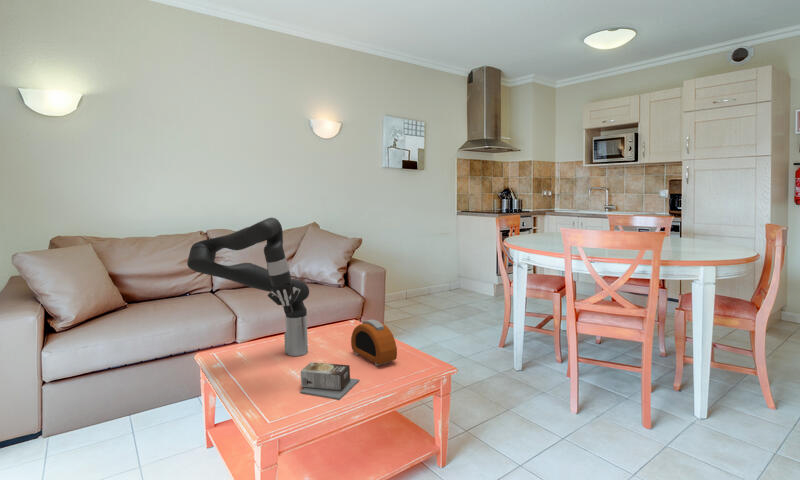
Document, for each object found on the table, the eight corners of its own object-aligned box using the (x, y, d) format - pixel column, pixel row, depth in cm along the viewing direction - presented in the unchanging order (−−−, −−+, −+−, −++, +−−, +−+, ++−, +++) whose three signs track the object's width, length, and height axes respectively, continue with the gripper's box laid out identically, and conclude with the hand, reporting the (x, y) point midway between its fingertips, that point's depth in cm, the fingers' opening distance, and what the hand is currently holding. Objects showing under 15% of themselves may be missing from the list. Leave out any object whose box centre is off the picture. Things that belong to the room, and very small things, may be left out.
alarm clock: (350, 352, 195) (349, 316, 193) (367, 348, 201) (366, 313, 199) (380, 369, 177) (379, 329, 175) (397, 364, 182) (397, 325, 180)
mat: (299, 393, 156) (299, 391, 156) (322, 375, 171) (322, 373, 171) (339, 399, 151) (339, 398, 151) (359, 381, 166) (359, 379, 166)
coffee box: (310, 361, 167) (350, 364, 164) (311, 377, 168) (350, 380, 165) (300, 370, 159) (341, 374, 155) (300, 387, 159) (342, 391, 156)
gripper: (258, 276, 160) (269, 320, 163) (291, 272, 158) (302, 316, 161) (266, 270, 167) (277, 312, 171) (299, 265, 165) (309, 308, 169)
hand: (289, 314), depth 166 cm, fingers closed
